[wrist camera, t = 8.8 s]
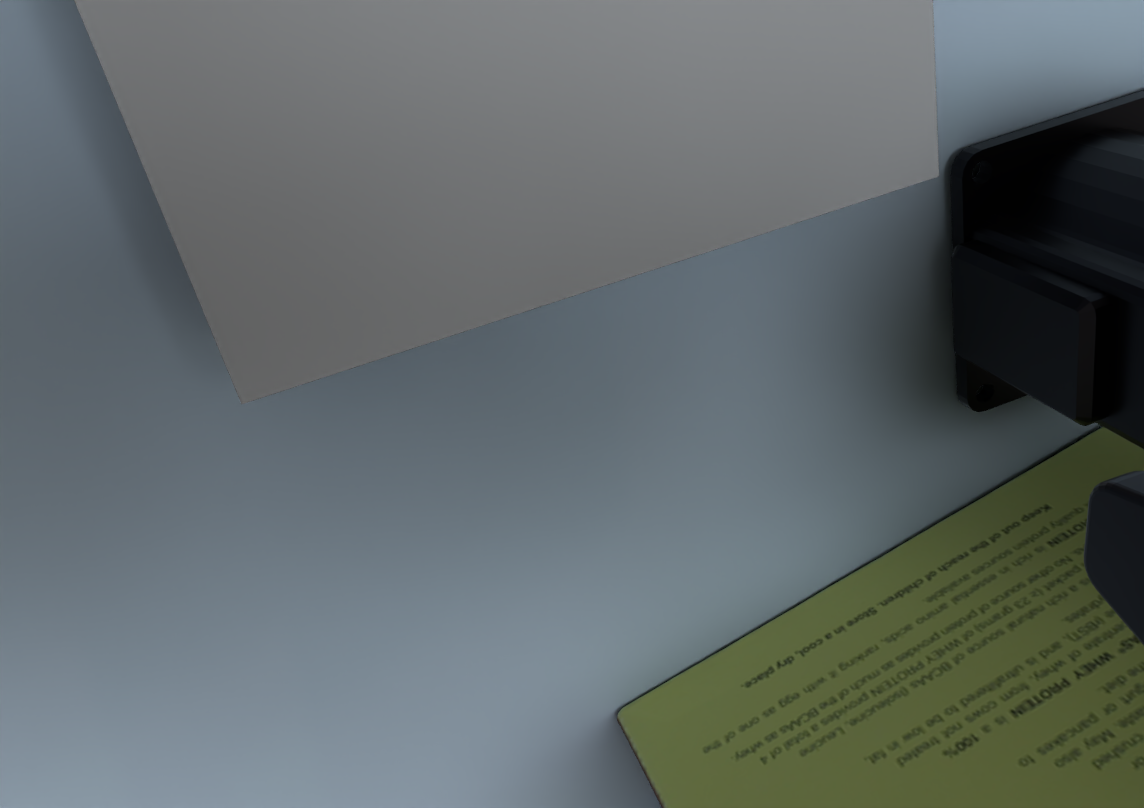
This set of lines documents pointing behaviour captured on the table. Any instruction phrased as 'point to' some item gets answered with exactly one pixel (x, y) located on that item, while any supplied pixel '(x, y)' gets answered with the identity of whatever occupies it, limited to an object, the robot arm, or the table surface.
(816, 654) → the protein box
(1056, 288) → the robot arm
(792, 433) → the table surface
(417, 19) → the board
